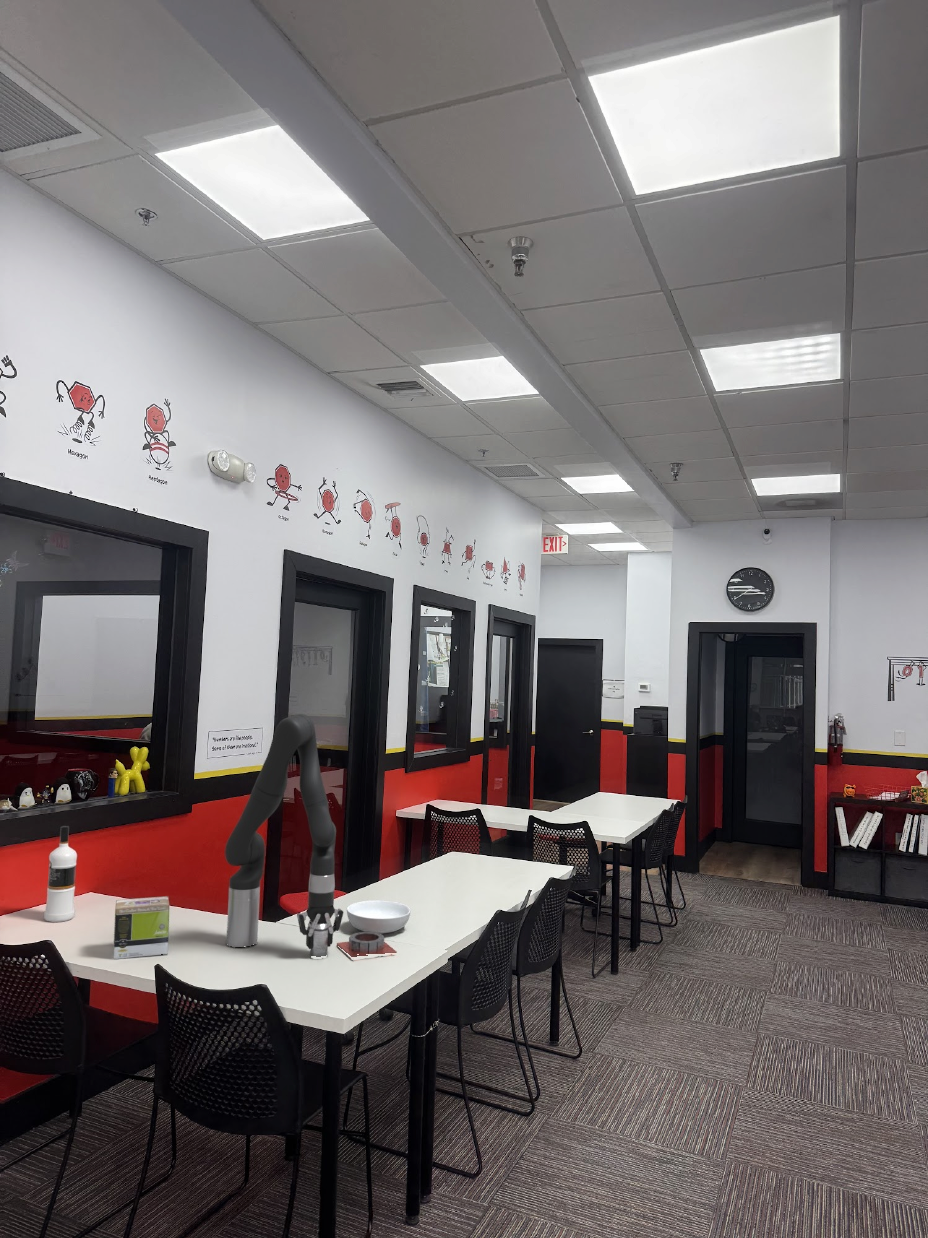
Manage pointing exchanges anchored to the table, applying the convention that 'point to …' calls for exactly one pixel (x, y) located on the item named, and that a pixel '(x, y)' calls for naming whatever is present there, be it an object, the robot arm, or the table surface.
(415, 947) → the table surface
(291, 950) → the table surface
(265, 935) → the table surface
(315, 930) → the cylinder
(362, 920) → the serving bowl
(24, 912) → the table surface
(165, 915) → the tea box
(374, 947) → the collar
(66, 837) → the vodka
